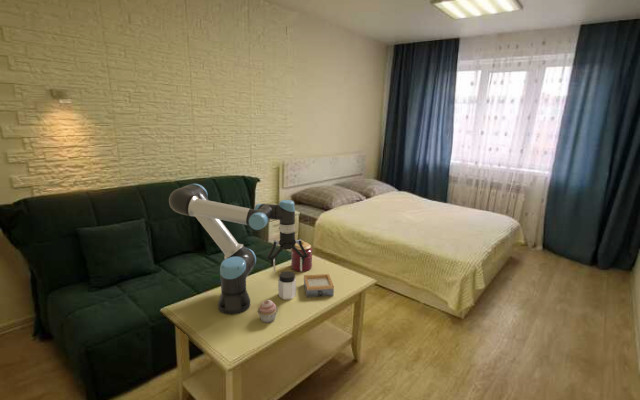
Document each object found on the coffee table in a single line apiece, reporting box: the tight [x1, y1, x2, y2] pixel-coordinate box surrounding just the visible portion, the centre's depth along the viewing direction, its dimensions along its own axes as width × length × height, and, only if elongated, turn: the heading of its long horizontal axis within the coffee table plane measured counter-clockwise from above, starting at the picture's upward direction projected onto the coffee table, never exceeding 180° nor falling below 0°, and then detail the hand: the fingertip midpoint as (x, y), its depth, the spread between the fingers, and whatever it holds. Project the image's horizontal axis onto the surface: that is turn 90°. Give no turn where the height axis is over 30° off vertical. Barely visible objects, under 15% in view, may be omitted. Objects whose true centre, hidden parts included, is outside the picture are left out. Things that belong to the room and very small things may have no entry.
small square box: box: [303, 273, 335, 298], centre depth 178 cm, size 14×15×6 cm
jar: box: [277, 270, 297, 301], centre depth 171 cm, size 9×8×12 cm
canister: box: [290, 239, 313, 272], centre depth 203 cm, size 13×13×18 cm
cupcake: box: [257, 299, 279, 324], centre depth 150 cm, size 9×9×10 cm
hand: (287, 270), depth 169 cm, fingers open, 13 cm apart
